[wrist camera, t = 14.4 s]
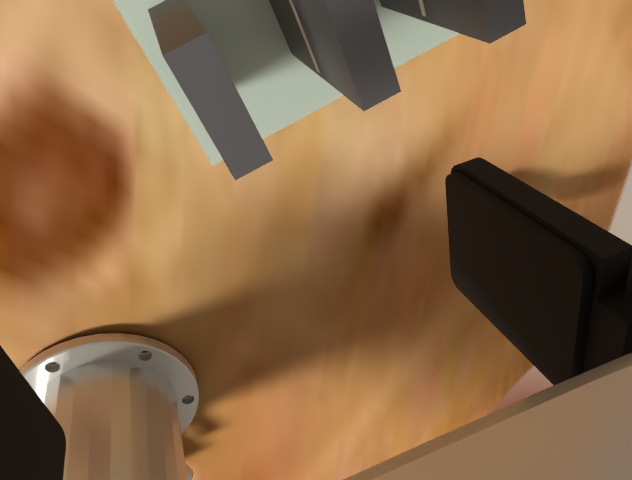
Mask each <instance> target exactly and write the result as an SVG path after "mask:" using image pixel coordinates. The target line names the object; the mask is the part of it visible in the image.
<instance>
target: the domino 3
mask: <svg viewBox="0 0 632 480" xmlns="http://www.w3.org/2000/svg"><path fill="white" fill-rule="evenodd" d="M380 4H381V7H384V8H387V9H390V10H393V11H396V12H399V13H402V14H405V15H408V16H410V17H413V18H416V19H419V20H422V21H425V22H428V23H431V24H434V25H437V26H440V27H443V28H446V29H449V30H452V31H455V32H458V33H461V34H463V35H466V36H469V37H472V38H475V39H478V40H481V41H484V42H487V43H492V42H494V41H495V40H497V39H499V38H501V37H503V36H505V35H507V34H508V33H510V32H512V31H514V30H516V29H518V28H520V27H522V26H523V25H525V24H526V20H525V11H524V3H523V0H380Z"/></svg>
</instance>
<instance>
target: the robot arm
mask: <svg viewBox="0 0 632 480" xmlns="http://www.w3.org/2000/svg"><path fill="white" fill-rule="evenodd" d="M446 199H447V216H448V233H449V249H450V266H451V276H452V279H453V282H454V284H455V285H456V287H457V288H458V289H459V290H460V291H461V292H462V293H463V294H464V295H465V296H466V297H467V298H468V299H469V300H470V301H471V302H472V303H473V304H474V305H475V306H476V307H477V308H478V309H479V310H480V311H481V312H482V313H483V314H484V315H485V317H486V318H487V319H488V320H489V321H490V322H491V323H492V324H493V325H494V326H495V327H496V328H497V329H498V330H499V331H500V332H501V333H502V334H503V335H504V336H505V337H506V338H507V339H508V340H509V341H510V342H511V343H512V344H513V345H514V346H515V347H516V348H517V349H518V350H519V351H520V352H521V353H522V354H523V355H524V356H525V357H526V358H527V359H528V360H529V361H530V362H531V363H532V364H533V365H534V366H535V367H536V368H537V369H538V370H539V371H540V372H541V373H542V374H543V375H544V376H545V377H546V378H547V379H548V380H549V381H550V382H551V383H552V384H553V385H554V386H552V387H549V388H547V389H545V390H543V391H540V392H538V393H536V394H534V395H531V396H529V397H527V398H525V399H522V400H520V401H518V402H516V403H513V404H511V405H509V406H507V407H504V408H502V409H500V410H498V411H495V412H493V413H491V414H489V415H486V416H484V417H482V418H480V419H477V420H475V421H473V422H471V423H468V424H466V425H464V426H462V427H459V428H457V429H455V430H453V431H450V432H448V433H446V434H444V435H441V436H439V437H437V438H435V439H432V440H430V441H428V442H426V443H423V444H421V445H419V446H417V447H415V448H412V449H410V450H408V451H406V452H403V453H401V454H399V455H397V456H395V457H392V458H390V459H388V460H386V461H384V462H381V463H379V464H377V465H375V466H372V467H370V468H368V469H366V470H364V471H361V472H359V473H357V474H355V475H352V476H350V477H348V478H346V479H344V480H632V245H630V244H628V243H626V242H625V241H623V240H621V239H620V238H618V237H616V236H614V235H613V234H611V233H609V232H608V231H606V230H604V229H602V228H601V227H599V226H597V225H596V224H594V223H592V222H590V221H589V220H587V219H585V218H584V217H582V216H580V215H578V214H577V213H575V212H573V211H572V210H570V209H568V208H566V207H565V206H563V205H561V204H560V203H558V202H556V201H554V200H553V199H551V198H549V197H548V196H546V195H544V194H542V193H541V192H539V191H537V190H536V189H534V188H532V187H530V186H529V185H527V184H525V183H524V182H522V181H520V180H519V179H517V178H515V177H513V176H512V175H510V174H508V173H507V172H505V171H503V170H501V169H500V168H498V167H496V166H495V165H493V164H491V163H489V162H488V161H486V160H484V159H482V158H475V159H472V160H469V161H466V162H464V163H461V164H458V165H455V166H454V167H453V168H452V170H451V174H449V175H448V176H447V177H446ZM198 402H199V391H198V384H197V380H196V375H195V373H194V371H193V369H192V367H191V365H190V364H189V362H188V361H187V360H186V359H185V358H184V357H183V356H182V355H181V354H180V353H179V352H177V351H176V350H174V349H173V348H172V347H170V346H168V345H166V344H164V343H162V342H159V341H157V340H155V339H151V338H148V337H144V336H140V335H133V334H123V333H106V334H95V335H89V336H83V337H78V338H75V339H72V340H69V341H66V342H62V343H59V344H57V345H55V346H53V347H51V348H49V349H47V350H45V351H43V352H41V353H40V354H38V355H37V356H35V357H34V358H33V359H31V360H30V361H28V362H27V363H26V364H25V365H24V366H23V367H22V368H21V369H20V370H18V368H17V367H16V366H15V364H14V363H13V362H12V360H11V359H10V358H9V357H8V355H7V354H6V353H5V351H4V350H3V349H2V347H1V346H0V480H191V479H192V477H193V470H192V469H191V468H190V467H189V466H188V465H187V464H186V463H185V458H184V450H183V442H182V434H183V433H184V432H185V430H186V429H187V428H188V426H189V425H190V424H191V422H192V420H193V418H194V416H195V414H196V412H197V407H198Z"/></svg>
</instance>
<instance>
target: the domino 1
mask: <svg viewBox="0 0 632 480" xmlns="http://www.w3.org/2000/svg"><path fill="white" fill-rule="evenodd" d="M148 12H149V15H150V18H151V21H152V24H153V28H154V31H155V34H156V37H157V40H158V43H159V46H160V50H161V53H162V56H163V57H164V59H165V61H166V63H167V64H168V66H169V68H170V69H171V71H172V73H173V75H174V76H175V78H176V80H177V81H178V83H179V85H180V86H181V88H182V90H183V92H184V93H185V95H186V97H187V98H188V100H189V102H190V104H191V105H192V107H193V109H194V110H195V112H196V114H197V116H198V117H199V119H200V121H201V122H202V124H203V126H204V128H205V129H206V131H207V133H208V134H209V136H210V138H211V139H212V141H213V143H214V145H215V146H216V148H217V150H218V151H219V153H220V155H221V157H222V158H223V160H224V162H225V163H226V165H227V167H228V169H229V170H230V172H231V174H232V175H233V177H234V179H235V180H237V179H239V178H240V177H242V176H244V175H246V174H248V173H250V172H252V171H253V170H255V169H257V168H259V167H261V166H263V165H265V164H266V163H268V162H270V161H272V160H273V159H272V157H271V155H270V153H269V151H268V149H267V147H266V145H265V143H264V141H263V139H262V137H261V136H260V134H259V132H258V130H257V128H256V126H255V124H254V122H253V120H252V118H251V116H250V114H249V112H248V110H247V108H246V106H245V104H244V102H243V101H242V99H241V97H240V95H239V93H238V91H237V89H236V87H235V85H234V83H233V81H232V79H231V77H230V75H229V73H228V71H227V69H226V67H225V65H224V64H223V62H222V60H221V58H220V56H219V54H218V52H217V50H216V48H215V46H214V44H213V42H212V40H211V38H210V36H209V34H208V32H207V31H206V30H205V28H204V27H203V26H202V25H201V23H200V22H199V21H198V19H197V18H196V17H195V15H194V14H193V13H192V12H191V10H190V9H189V8H188V6H187V5H186V4H185V3H184V1H183V0H165V1H163V2H161V3H159V4H157V5H156V6H154V7H152V8H150V9H148Z"/></svg>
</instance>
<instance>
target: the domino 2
mask: <svg viewBox="0 0 632 480" xmlns="http://www.w3.org/2000/svg"><path fill="white" fill-rule="evenodd" d="M269 2H270V4H271V6H272V9H273V11H274V13H275V16H276V18H277V20H278V23H279V25H280V28H281V30H282V32H283V35H284V37H285V39H286V42H287V44H288V47H289V49H290V51H291V54H292V55H293V56H295V57H296V58H297V59H299V60H300V61H301V62H302V63H304V64H305V65H306V66H307V67H309V68H310V69H311V70H312V71H314V72H315V73H316V74H318V75H319V76H320V77H321V78H323V79H324V80H325V81H326V82H328V83H329V84H330V85H332V86H333V87H334V88H335V89H337V90H338V91H339V92H340V93H342V94H343V95H344V96H345V97H347V98H348V99H349V100H351V101H352V102H353V103H354V104H356V105H357V106H358V107H359V108H361V109H362V110H363V111H365V110H367V109H369V108H371V107H373V106H374V105H376V104H378V103H380V102H382V101H384V100H386V99H387V98H389V97H391V96H393V95H395V94H397V93H399V92H401V90H400V87H399V83H398V80H397V77H396V73H395V70H394V67H393V63H392V60H391V57H390V53H389V50H388V47H387V43H386V40H385V37H384V33H383V30H382V27H381V23H380V20H379V17H378V13H377V10H376V7H375V3H374V0H269Z"/></svg>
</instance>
